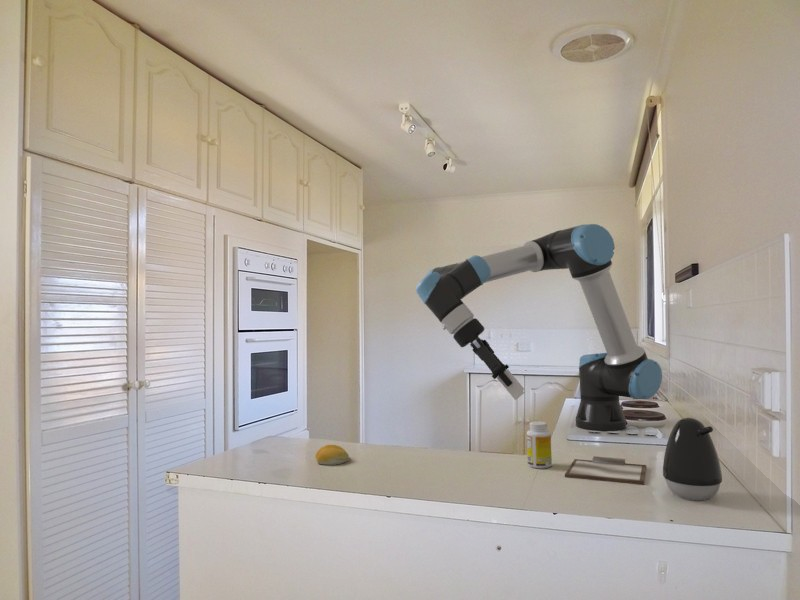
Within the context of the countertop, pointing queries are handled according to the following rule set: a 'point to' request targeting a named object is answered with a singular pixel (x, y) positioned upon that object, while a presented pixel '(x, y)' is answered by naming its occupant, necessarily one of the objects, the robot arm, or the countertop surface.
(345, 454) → the bread roll
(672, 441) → the pump dispenser
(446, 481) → the countertop surface
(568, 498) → the countertop surface
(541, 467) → the supplement bottle
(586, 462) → the clipboard
